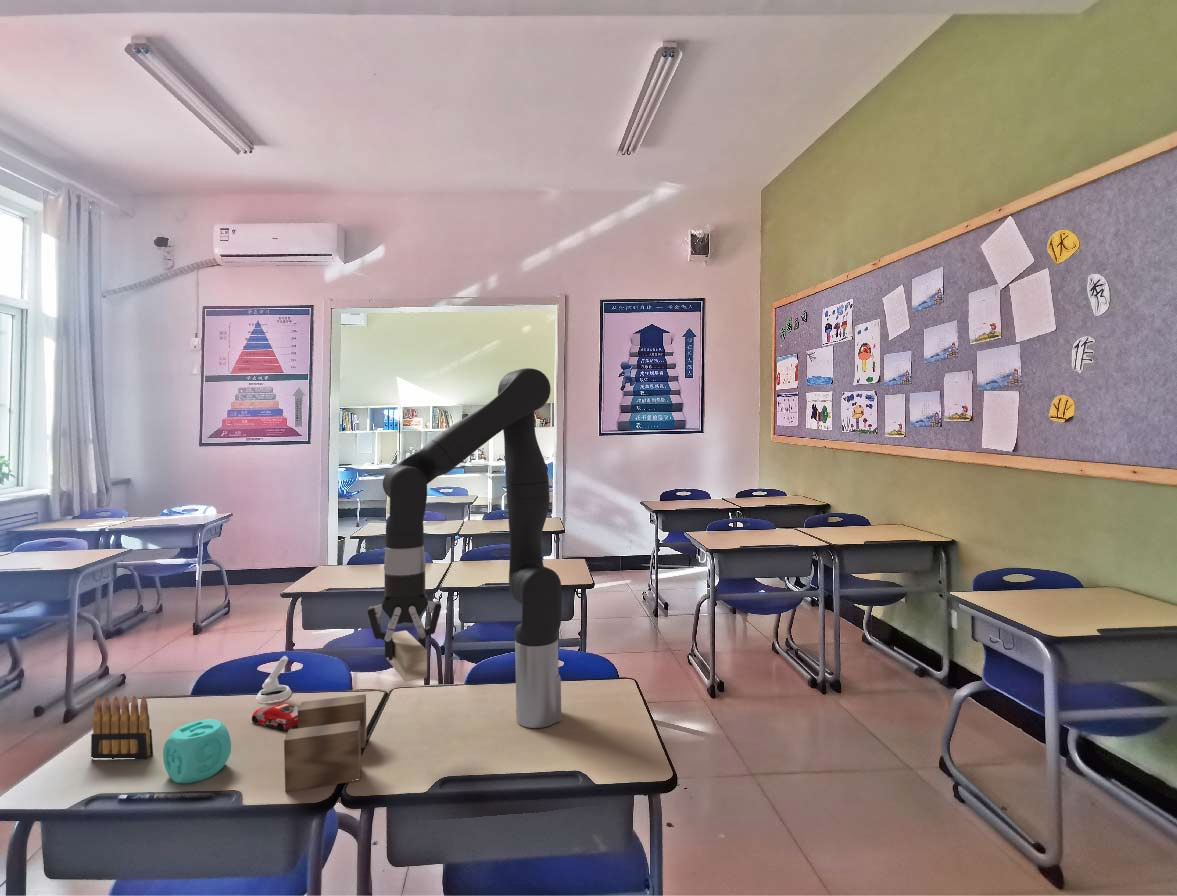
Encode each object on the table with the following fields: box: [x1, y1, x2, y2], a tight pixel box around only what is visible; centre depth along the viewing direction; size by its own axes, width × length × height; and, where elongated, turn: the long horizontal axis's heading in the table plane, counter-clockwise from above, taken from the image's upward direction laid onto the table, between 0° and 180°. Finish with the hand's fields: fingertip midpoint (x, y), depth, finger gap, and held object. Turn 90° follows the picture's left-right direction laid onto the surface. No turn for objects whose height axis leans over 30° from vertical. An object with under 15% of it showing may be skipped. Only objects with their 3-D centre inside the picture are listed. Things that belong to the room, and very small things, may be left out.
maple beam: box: [385, 630, 428, 683], centre depth 116 cm, size 4×14×5 cm, turn 32°
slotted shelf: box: [283, 694, 368, 793], centre depth 114 cm, size 12×16×9 cm
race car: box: [251, 702, 299, 732], centre depth 131 cm, size 13×5×4 cm, turn 64°
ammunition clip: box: [90, 695, 154, 760], centre depth 117 cm, size 11×2×12 cm, turn 91°
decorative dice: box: [162, 718, 232, 784], centre depth 112 cm, size 8×8×8 cm
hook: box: [255, 655, 293, 702], centre depth 144 cm, size 8×12×7 cm
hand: (405, 657), depth 116 cm, fingers closed on maple beam, 4 cm apart
